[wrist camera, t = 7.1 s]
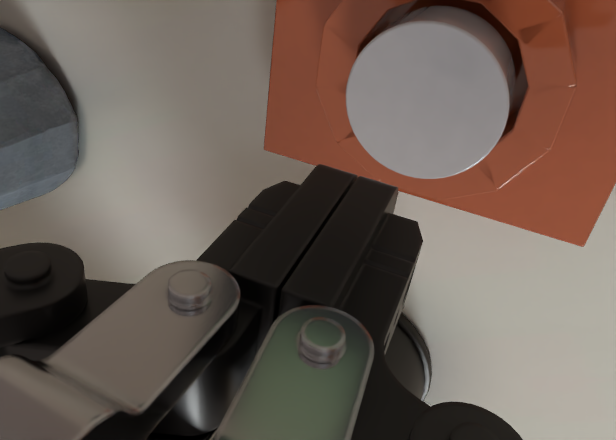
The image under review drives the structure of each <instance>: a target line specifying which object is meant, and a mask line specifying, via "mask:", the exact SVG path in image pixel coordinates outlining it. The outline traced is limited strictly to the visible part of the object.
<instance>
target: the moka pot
mask: <svg viewBox="0 0 616 440" xmlns="http://www.w3.org/2000/svg"><path fill="white" fill-rule="evenodd" d="M77 126H78V121H77V116H76V114H75V113H74V111H73V107H72V105H71V103H70V101H69V100H68V98H67V96H66V93H65V91H64V90H63V88H62V87H61V85H60V83H59V82H58V80H57V79H56V77H55V76H54V75H53V74H52V73H51V72H50V71H49V70H48V68H47V67H46V65H45V64H44V62H43V61H42V60H41V59H40V57H39V56H38V55H37V54H36V53H35V52H34V51H33V50H32V49H31V48H29V47H28V46H27V45H26V44H24V43H23V42H22V41H20V40H19V39H18V38H16V37H15V36H14V35H12V34H10V33H8V32H7V31H5V30H4V29H2V28H0V210H2V209H5V208H8V207H10V206H13V205H16V204H19V203H21V202H24V201H27V200H30V199H33V198H36V197H39V196H41V195H44V194H46V193H48V192H50V191H52V190H54V189H56V188H57V187H58V186H60V185H61V184H62V183H63V182H65V181H66V180H67V179H68V177H69V176H70V175H71V173H72V172H73V171H74V169H75V165H76V163H77V160H78V154H79V150H78V140H79V135H78V127H77Z"/></svg>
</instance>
